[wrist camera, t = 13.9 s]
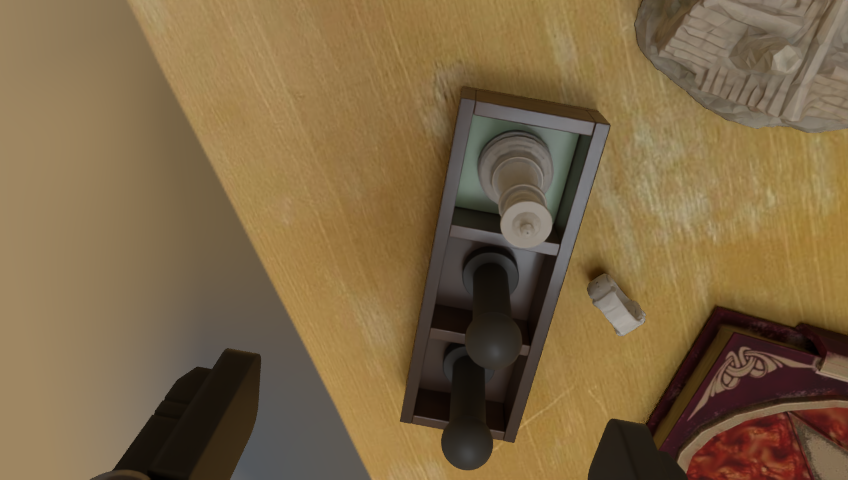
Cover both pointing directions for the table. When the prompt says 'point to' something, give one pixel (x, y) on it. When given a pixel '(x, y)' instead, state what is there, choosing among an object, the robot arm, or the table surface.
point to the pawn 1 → (492, 307)
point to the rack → (480, 226)
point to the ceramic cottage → (754, 58)
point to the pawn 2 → (466, 411)
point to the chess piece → (518, 185)
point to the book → (758, 403)
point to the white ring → (615, 305)
